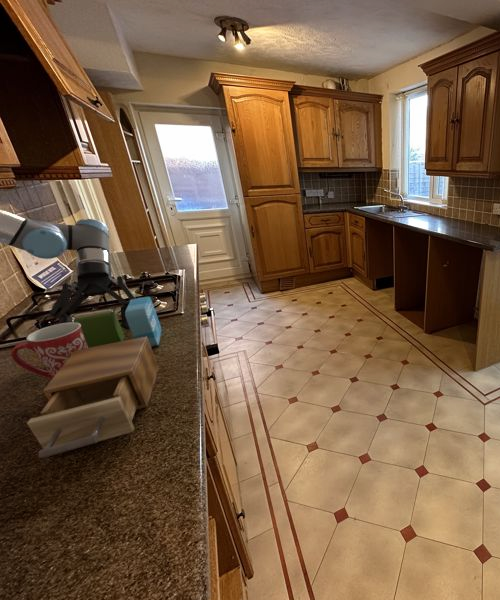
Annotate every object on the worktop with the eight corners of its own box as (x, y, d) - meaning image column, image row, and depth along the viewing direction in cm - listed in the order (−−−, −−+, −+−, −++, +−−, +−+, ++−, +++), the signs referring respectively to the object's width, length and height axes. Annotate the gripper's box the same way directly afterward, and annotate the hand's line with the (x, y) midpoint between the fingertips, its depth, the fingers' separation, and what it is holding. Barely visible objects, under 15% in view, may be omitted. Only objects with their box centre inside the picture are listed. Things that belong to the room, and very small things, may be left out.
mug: (107, 364, 85) (86, 318, 79) (97, 383, 77) (73, 334, 72) (42, 378, 79) (14, 331, 74) (24, 401, 72) (-7, 349, 67)
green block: (91, 343, 95) (77, 312, 91) (125, 336, 98) (112, 306, 94) (86, 349, 91) (71, 318, 87) (121, 342, 95) (108, 312, 91)
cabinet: (147, 407, 70) (131, 370, 66) (64, 429, 64) (42, 390, 60) (159, 368, 83) (146, 336, 79) (91, 384, 77) (74, 350, 73)
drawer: (125, 455, 57) (108, 422, 54) (30, 485, 52) (6, 450, 49) (148, 388, 74) (136, 359, 71) (78, 405, 69) (62, 375, 66)
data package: (158, 347, 92) (144, 309, 87) (139, 351, 90) (123, 313, 85) (162, 329, 102) (149, 294, 97) (144, 333, 99) (131, 298, 95)
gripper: (147, 266, 105) (154, 327, 99) (48, 279, 95) (49, 347, 89) (138, 255, 99) (144, 319, 92) (31, 266, 89) (30, 339, 83)
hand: (98, 333), depth 91 cm, fingers open, 12 cm apart
